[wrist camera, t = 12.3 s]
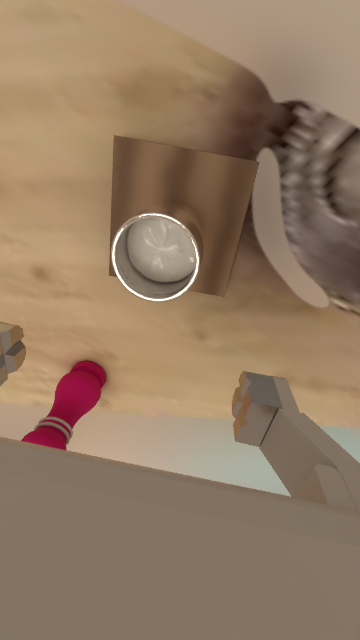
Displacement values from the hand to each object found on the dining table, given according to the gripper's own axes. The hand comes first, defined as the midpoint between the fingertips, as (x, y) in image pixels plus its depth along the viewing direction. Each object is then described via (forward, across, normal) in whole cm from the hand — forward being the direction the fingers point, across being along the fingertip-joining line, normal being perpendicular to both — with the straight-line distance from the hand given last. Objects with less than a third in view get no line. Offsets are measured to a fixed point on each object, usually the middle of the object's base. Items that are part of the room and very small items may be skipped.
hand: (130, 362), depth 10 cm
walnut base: (+29, +2, -1) cm, 29 cm away
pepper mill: (+29, +13, +28) cm, 42 cm away
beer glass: (+26, +1, -1) cm, 26 cm away
